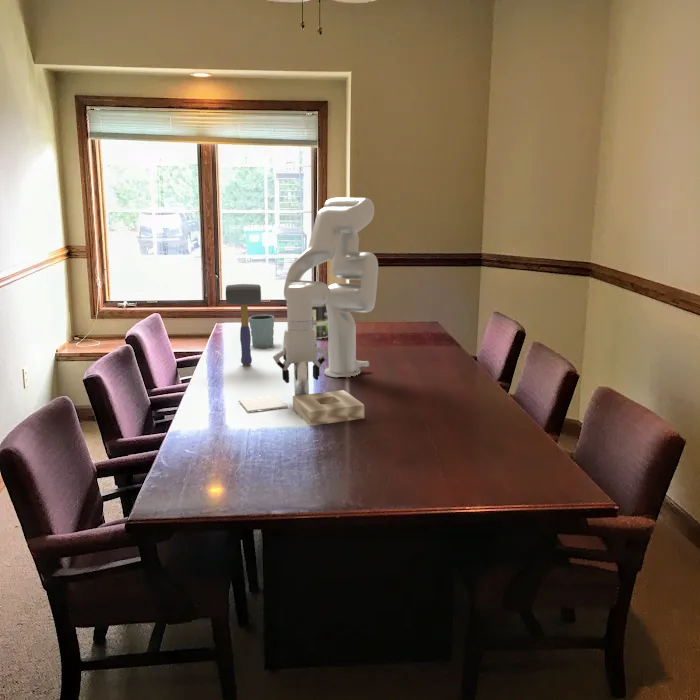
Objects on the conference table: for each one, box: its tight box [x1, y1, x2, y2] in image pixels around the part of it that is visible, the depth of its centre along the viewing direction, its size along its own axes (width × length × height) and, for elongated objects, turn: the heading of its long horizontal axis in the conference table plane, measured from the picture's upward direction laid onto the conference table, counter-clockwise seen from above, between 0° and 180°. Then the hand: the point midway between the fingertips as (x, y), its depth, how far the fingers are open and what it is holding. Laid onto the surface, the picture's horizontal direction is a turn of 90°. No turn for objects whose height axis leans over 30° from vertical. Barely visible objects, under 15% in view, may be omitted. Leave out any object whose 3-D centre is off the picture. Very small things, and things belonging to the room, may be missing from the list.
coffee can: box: [312, 303, 328, 340], centre depth 305 cm, size 10×10×14 cm
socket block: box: [292, 389, 365, 427], centre depth 203 cm, size 16×16×4 cm
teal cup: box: [248, 314, 275, 349], centre depth 290 cm, size 10×10×12 cm
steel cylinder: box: [293, 362, 310, 396], centre depth 217 cm, size 4×4×12 cm
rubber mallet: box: [225, 283, 262, 367], centre depth 256 cm, size 12×8×30 cm, turn 93°
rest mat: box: [238, 394, 288, 413], centre depth 212 cm, size 12×12×1 cm
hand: (301, 380), depth 217 cm, fingers open, 9 cm apart
